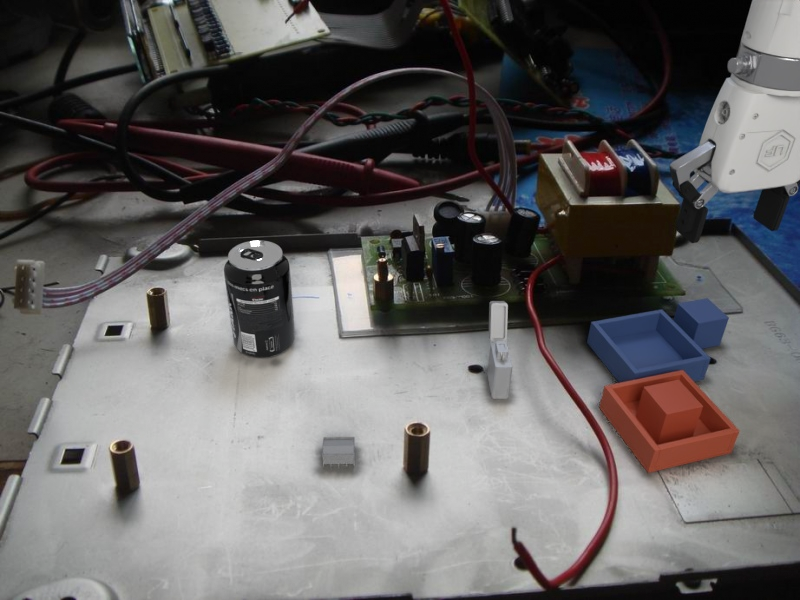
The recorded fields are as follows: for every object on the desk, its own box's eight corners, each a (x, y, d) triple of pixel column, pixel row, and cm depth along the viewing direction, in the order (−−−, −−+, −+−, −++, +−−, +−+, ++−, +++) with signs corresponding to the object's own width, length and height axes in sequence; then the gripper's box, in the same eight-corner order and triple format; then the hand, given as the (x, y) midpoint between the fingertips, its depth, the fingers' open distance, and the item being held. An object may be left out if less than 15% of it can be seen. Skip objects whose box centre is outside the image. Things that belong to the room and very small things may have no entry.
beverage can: (257, 320, 88) (247, 231, 81) (307, 336, 86) (301, 246, 79) (222, 353, 83) (207, 261, 76) (273, 371, 81) (264, 278, 74)
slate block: (699, 325, 89) (707, 297, 87) (719, 345, 86) (729, 317, 84) (669, 330, 88) (677, 303, 86) (689, 351, 85) (698, 323, 83)
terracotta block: (669, 408, 76) (678, 379, 74) (693, 436, 73) (703, 406, 71) (635, 416, 75) (643, 386, 73) (657, 444, 72) (666, 414, 70)
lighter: (508, 398, 78) (516, 338, 73) (491, 398, 78) (499, 338, 73) (499, 355, 84) (506, 296, 79) (483, 355, 84) (489, 296, 79)
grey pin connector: (322, 469, 70) (321, 454, 68) (323, 451, 71) (322, 437, 70) (355, 468, 70) (354, 454, 69) (355, 451, 72) (355, 436, 70)
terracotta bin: (676, 391, 79) (683, 369, 78) (731, 453, 72) (740, 431, 71) (599, 407, 77) (604, 385, 75) (647, 473, 70) (654, 450, 68)
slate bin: (656, 329, 88) (662, 309, 86) (704, 379, 81) (711, 358, 79) (586, 342, 86) (591, 321, 84) (629, 395, 79) (634, 373, 77)
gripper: (724, 88, 63) (676, 260, 73) (885, 73, 68) (819, 237, 78) (673, 60, 69) (634, 223, 79) (824, 49, 73) (770, 204, 83)
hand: (726, 230), depth 78 cm, fingers open, 9 cm apart
